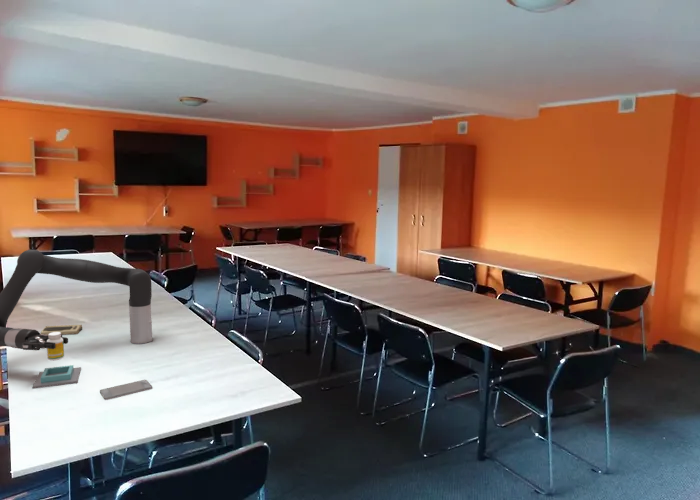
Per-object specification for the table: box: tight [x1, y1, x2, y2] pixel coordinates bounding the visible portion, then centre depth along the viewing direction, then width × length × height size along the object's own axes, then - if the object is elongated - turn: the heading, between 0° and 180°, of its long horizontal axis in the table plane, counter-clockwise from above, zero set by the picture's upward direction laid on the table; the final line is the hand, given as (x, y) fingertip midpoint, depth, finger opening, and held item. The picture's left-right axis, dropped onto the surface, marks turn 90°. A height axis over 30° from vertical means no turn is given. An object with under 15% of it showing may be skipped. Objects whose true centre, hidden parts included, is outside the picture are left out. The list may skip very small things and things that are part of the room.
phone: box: [99, 379, 153, 401], centre depth 175 cm, size 8×16×1 cm, turn 129°
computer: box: [40, 324, 83, 336], centre depth 235 cm, size 16×8×3 cm, turn 102°
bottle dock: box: [31, 364, 82, 389], centre depth 183 cm, size 14×14×3 cm
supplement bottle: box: [46, 332, 65, 361], centre depth 182 cm, size 5×5×10 cm
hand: (61, 343), depth 181 cm, fingers closed on supplement bottle, 5 cm apart
